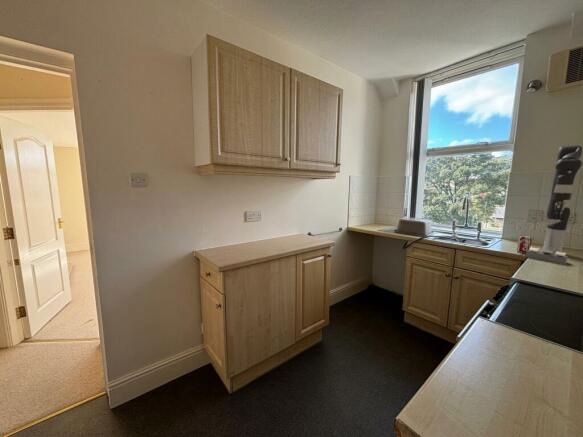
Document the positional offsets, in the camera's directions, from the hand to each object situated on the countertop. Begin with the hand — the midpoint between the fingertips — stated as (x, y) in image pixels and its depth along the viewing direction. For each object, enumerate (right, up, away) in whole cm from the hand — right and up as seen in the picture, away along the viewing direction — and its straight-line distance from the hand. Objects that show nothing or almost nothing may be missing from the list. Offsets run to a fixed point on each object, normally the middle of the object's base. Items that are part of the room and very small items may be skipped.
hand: (557, 219), depth 154 cm
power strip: (-3, -26, +4) cm, 27 cm away
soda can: (-3, -24, +20) cm, 31 cm away
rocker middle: (-3, -21, +3) cm, 21 cm away
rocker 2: (+1, -22, -1) cm, 22 cm away
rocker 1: (-7, -20, +8) cm, 23 cm away
